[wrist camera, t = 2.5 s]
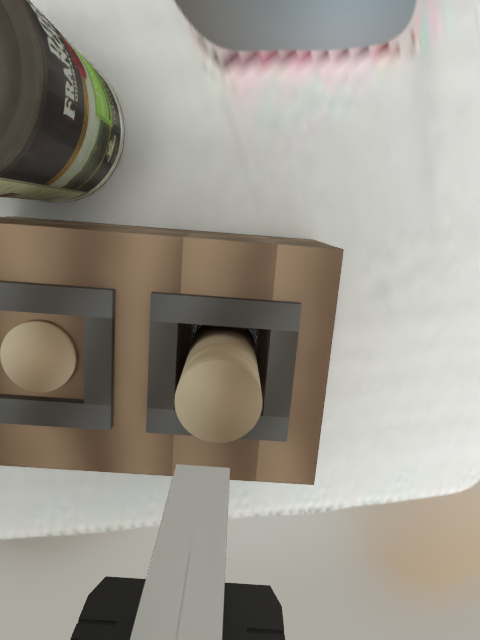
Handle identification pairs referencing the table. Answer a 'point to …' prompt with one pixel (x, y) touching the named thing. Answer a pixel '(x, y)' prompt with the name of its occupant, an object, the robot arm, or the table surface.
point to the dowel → (219, 385)
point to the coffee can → (52, 112)
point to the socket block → (157, 345)
